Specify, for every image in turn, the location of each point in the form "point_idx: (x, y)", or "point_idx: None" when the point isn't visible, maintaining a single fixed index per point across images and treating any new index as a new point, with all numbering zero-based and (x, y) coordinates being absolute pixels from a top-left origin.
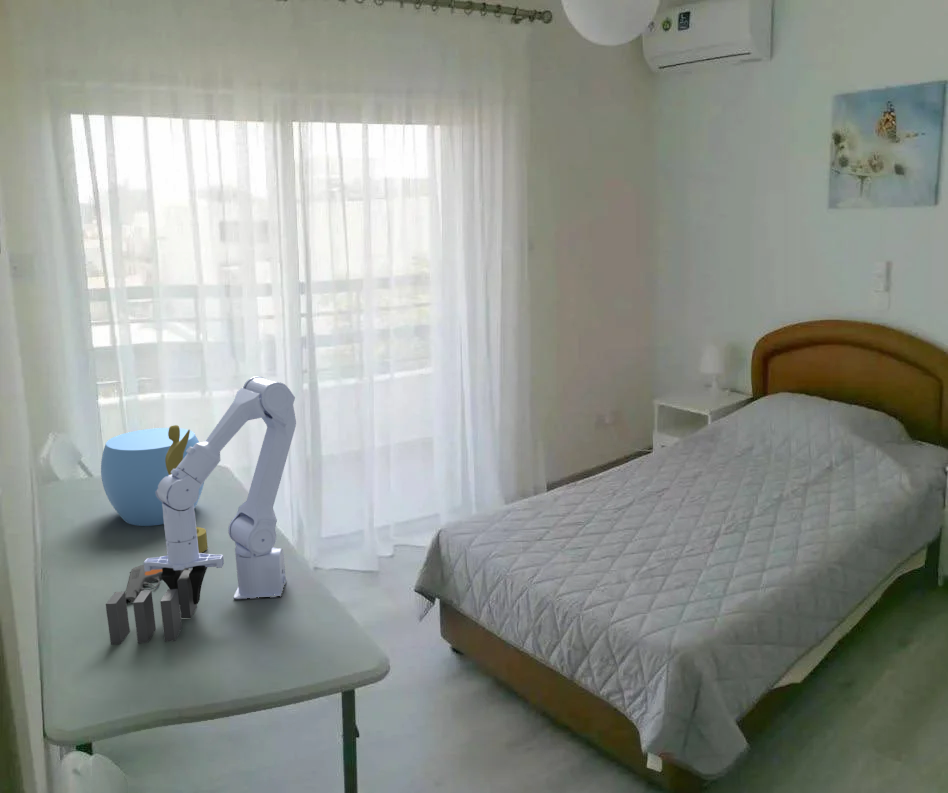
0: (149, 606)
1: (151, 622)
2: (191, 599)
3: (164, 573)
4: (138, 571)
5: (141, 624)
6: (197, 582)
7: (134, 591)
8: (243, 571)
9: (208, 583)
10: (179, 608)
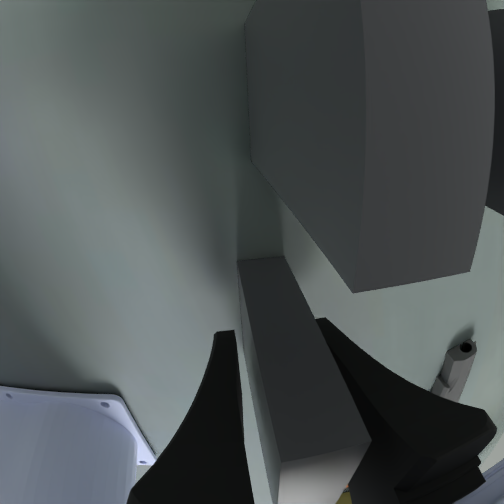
0: (497, 125)
1: None
2: (250, 352)
3: (468, 458)
4: None
5: None
6: (185, 448)
7: (452, 384)
8: (68, 487)
9: (258, 455)
10: (276, 181)
